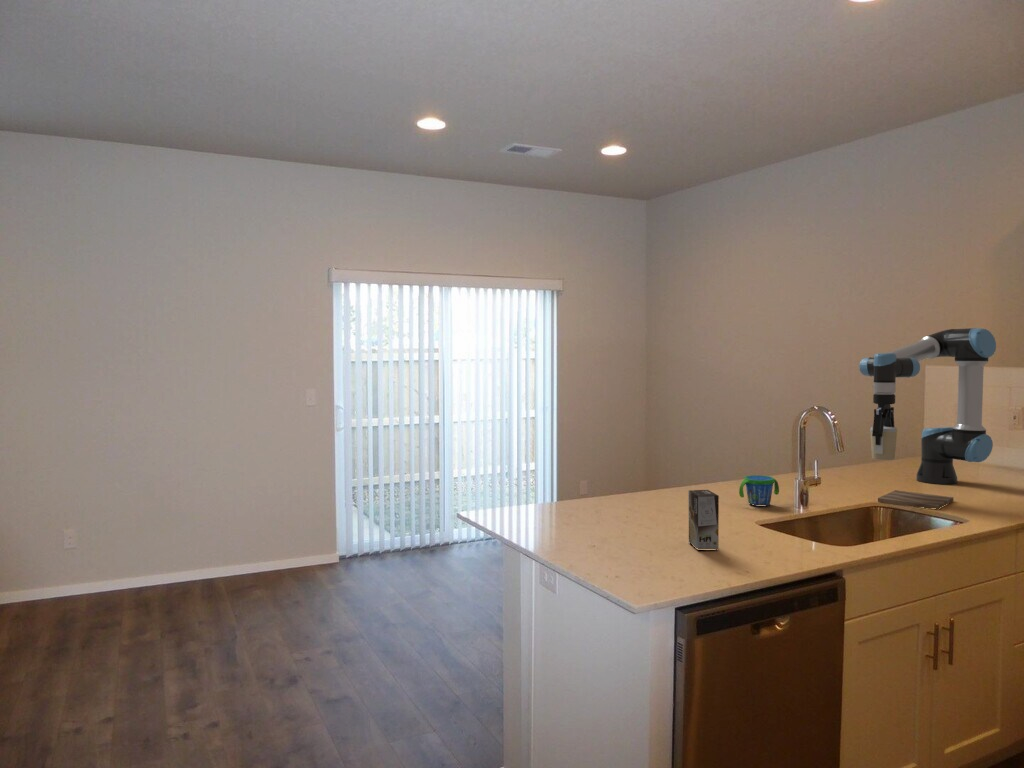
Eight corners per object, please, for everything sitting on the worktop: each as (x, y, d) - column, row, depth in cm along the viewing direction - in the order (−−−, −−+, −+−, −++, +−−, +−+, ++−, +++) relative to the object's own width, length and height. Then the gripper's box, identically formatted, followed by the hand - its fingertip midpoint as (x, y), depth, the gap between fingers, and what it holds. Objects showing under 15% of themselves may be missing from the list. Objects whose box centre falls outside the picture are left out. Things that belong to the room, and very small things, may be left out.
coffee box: (719, 551, 209) (719, 495, 208) (697, 551, 208) (697, 496, 208) (708, 542, 218) (708, 489, 217) (687, 543, 217) (687, 489, 217)
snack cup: (746, 509, 262) (746, 480, 261) (732, 502, 272) (732, 475, 272) (786, 507, 264) (786, 479, 264) (771, 501, 275) (771, 474, 274)
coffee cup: (891, 456, 284) (891, 426, 283) (901, 460, 275) (901, 428, 274) (866, 456, 285) (866, 426, 285) (874, 460, 276) (875, 428, 275)
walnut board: (895, 493, 286) (895, 490, 286) (953, 501, 272) (953, 497, 271) (877, 502, 271) (877, 498, 271) (937, 510, 257) (938, 505, 257)
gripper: (884, 391, 289) (883, 448, 290) (863, 394, 274) (862, 454, 275) (904, 392, 283) (903, 450, 284) (884, 395, 268) (883, 456, 270)
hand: (883, 452), depth 280 cm, fingers closed on coffee cup, 9 cm apart
